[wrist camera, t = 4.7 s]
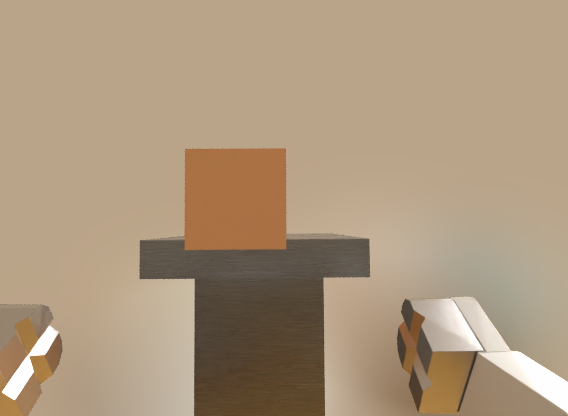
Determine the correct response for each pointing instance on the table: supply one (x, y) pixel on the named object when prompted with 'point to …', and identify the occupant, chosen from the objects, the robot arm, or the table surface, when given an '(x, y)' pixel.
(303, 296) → the pedestal
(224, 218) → the orange-brown square bar
